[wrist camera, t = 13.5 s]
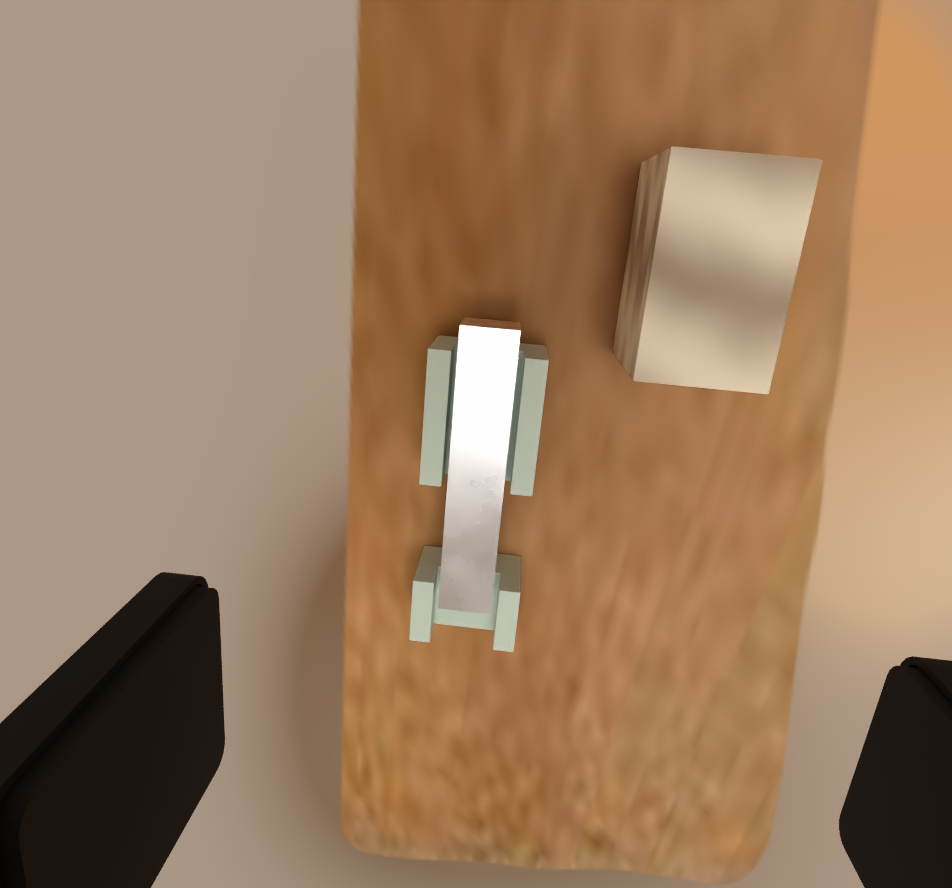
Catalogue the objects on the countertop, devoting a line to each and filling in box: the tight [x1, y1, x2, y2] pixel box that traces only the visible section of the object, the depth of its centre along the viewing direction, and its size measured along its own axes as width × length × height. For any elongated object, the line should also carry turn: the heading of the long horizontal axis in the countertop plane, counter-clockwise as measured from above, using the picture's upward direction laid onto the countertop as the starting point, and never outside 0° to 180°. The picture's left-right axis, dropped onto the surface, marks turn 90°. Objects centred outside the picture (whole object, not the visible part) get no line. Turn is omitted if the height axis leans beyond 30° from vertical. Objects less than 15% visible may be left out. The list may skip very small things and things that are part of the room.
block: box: [613, 146, 823, 394], centre depth 33 cm, size 10×6×8 cm, turn 175°
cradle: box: [410, 335, 549, 652], centre depth 39 cm, size 18×6×4 cm, turn 175°
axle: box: [438, 317, 521, 614], centre depth 36 cm, size 16×3×3 cm, turn 175°
